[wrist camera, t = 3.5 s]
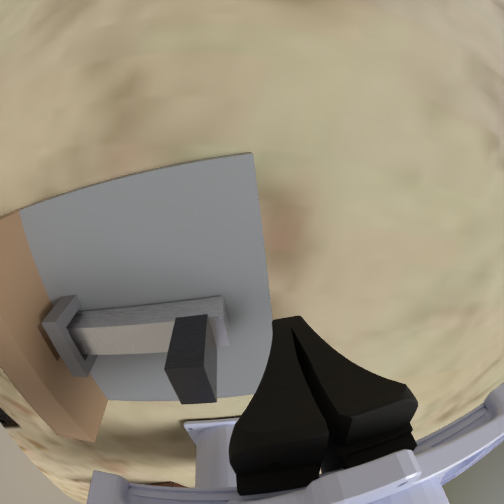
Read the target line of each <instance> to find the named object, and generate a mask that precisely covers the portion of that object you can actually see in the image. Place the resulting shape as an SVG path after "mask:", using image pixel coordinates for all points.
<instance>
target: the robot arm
mask: <svg viewBox="0 0 504 504" xmlns="http://www.w3.org/2000/svg"><path fill="white" fill-rule="evenodd" d="M272 331H273V335H272V343H271V349H270V354H269V358H268V362H267V365H266V368H265V371H264V374H263V377H262V379H261V381H260V384H259V386H258V388H257V390H256V392H255V394H254V396H253V398H252V400H251V401H250V403H249V405H248V406H247V408H246V410H245V411H244V412H243V414H242V415H241V417H239V418H229V419H218V420H202V421H186V422H184V428H185V429H186V431H187V432H188V434H189V436H190V437H191V439H192V440H193V442H194V443H195V445H196V475H195V488H182V487H165V486H154V485H144V484H137V483H130V482H128V481H127V480H126V479H125V478H123V477H121V476H119V475H116V474H111V473H105V472H101V471H96V470H95V471H93V475H92V480H91V484H90V489H89V494H88V499H87V504H449V502H448V499H447V497H446V495H445V493H444V490H443V488H442V485H443V484H445V483H447V482H448V481H450V480H451V479H453V478H454V477H456V476H457V475H459V474H460V473H462V472H463V471H464V470H466V469H468V468H469V467H470V466H472V465H473V464H475V463H476V462H477V461H479V460H480V459H481V458H482V457H484V456H485V455H486V454H488V453H489V452H490V451H491V450H493V449H494V448H495V447H496V446H498V445H499V444H500V443H501V442H502V441H503V440H504V382H503V383H502V384H501V385H499V386H498V387H497V388H495V389H494V390H493V391H491V392H490V393H489V395H488V396H487V397H486V399H485V400H484V403H482V404H481V405H479V406H478V407H476V408H475V409H473V410H472V411H470V412H469V413H467V414H465V415H464V416H462V417H460V418H459V419H457V420H455V421H454V422H452V423H450V424H448V425H447V426H445V427H443V428H441V429H439V430H437V431H435V432H433V433H431V434H429V435H427V436H425V437H423V438H421V439H419V440H417V441H415V440H414V438H413V436H412V434H411V432H412V430H413V429H412V426H411V425H410V421H411V419H412V417H413V416H414V414H415V412H416V410H417V407H418V401H417V400H416V398H415V396H414V395H413V393H412V392H411V391H410V389H409V388H408V387H407V386H406V384H402V383H399V382H396V381H392V380H389V379H386V378H384V377H381V376H379V375H376V374H374V373H372V372H370V371H368V370H366V369H364V368H362V367H360V366H358V365H356V364H355V363H353V362H351V361H350V360H348V359H347V358H345V357H344V356H342V355H341V354H340V353H338V352H337V351H336V350H335V349H333V348H332V347H331V346H330V345H328V344H327V343H326V342H325V341H324V340H323V339H322V338H321V337H320V336H319V335H318V334H317V333H316V332H315V331H314V330H313V329H312V328H311V327H310V326H309V325H308V324H307V323H306V322H305V320H304V319H303V318H302V317H301V316H294V317H288V318H282V319H276V320H273V321H272ZM320 468H321V472H322V474H319V472H320Z"/></svg>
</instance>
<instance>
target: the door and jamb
mask: <svg viewBox="0 0 504 504" xmlns="http://www.w3.org/2000/svg"><path fill="white" fill-rule="evenodd" d="M218 296H223V298H224V303H225V308H226V313H227V317H228V322H229V335H230V346H224V347H217V398H225V397H234V396H243V395H251V394H255V392H256V390H257V388H258V386H259V384H260V381H261V379H262V377H263V374H264V371H265V368H266V365H267V362H268V358H269V354H270V349H271V343H272V335H273V331H272V321H273V319H272V310H271V301H270V292H269V283H268V274H267V265H266V256H265V248H264V239H263V231H262V222H261V214H260V206H259V198H258V189H257V181H256V173H255V165H254V158H253V153H251V152H248V153H241V154H234V155H227V156H220V157H214V158H208V159H202V160H196V161H191V162H185V163H180V164H175V165H170V166H165V167H160V168H156V169H151V170H147V171H143V172H138V173H134V174H130V175H126V176H122V177H118V178H114V179H111V180H107V181H103V182H100V183H96V184H93V185H89V186H86V187H82V188H79V189H76V190H73V191H70V192H66V193H63V194H60V195H57V196H54V197H51V198H49V199H46V200H43V201H40V202H37V203H35V204H32V205H29V206H27V207H24V208H21V209H19V210H16V211H14V212H11V213H9V214H6V215H4V216H2V217H0V366H1V368H2V369H3V371H4V372H5V374H6V375H7V376H8V378H9V379H10V381H11V382H12V383H13V385H14V386H15V387H16V388H17V390H18V391H19V392H20V394H21V395H22V396H23V397H24V399H25V400H26V401H27V402H28V403H29V405H30V406H31V407H32V408H33V409H34V410H35V411H36V413H37V414H38V415H39V416H40V417H41V418H42V419H43V420H44V421H45V422H46V424H47V425H48V426H49V427H50V428H51V429H52V430H53V431H54V432H55V433H56V434H57V435H61V436H65V437H69V438H74V439H79V440H84V441H89V442H95V441H96V437H97V434H98V430H99V427H100V424H101V420H102V417H103V414H104V411H105V408H106V405H107V402H108V400H121V401H180V400H179V398H178V396H177V395H176V393H175V391H174V389H173V387H172V385H171V383H170V381H169V379H168V376H167V374H166V372H165V370H164V367H165V362H166V358H167V353H168V352H161V353H143V354H116V355H81V354H80V352H79V350H78V349H77V347H76V345H75V343H74V341H73V340H72V338H71V336H70V334H69V332H68V330H67V328H66V327H67V325H68V324H69V323H70V321H71V320H72V318H73V317H74V315H75V314H76V312H81V311H93V310H105V309H115V308H126V307H135V306H145V305H154V304H163V303H171V302H179V301H188V300H195V299H203V298H211V297H218Z"/></svg>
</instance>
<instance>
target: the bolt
mask: <svg viewBox="0 0 504 504" xmlns="http://www.w3.org/2000/svg"><path fill="white" fill-rule="evenodd" d="M66 328H67V330H68V332H69V334H70V336H71V338H72V340H73V341H74V343H75V345H76V347H77V349H78V350H79V352H80V354H81V355H116V354H143V353H161V352H168V353H167V358H166V362H165V367H164V370H165V372H166V374H167V376H168V379H169V381H170V383H171V385H172V387H173V389H174V391H175V393H176V395H177V396H178V398H179V400H180V402H181V404H199V403H213V402H217V347H224V346H230V335H229V322H228V317H227V313H226V308H225V303H224V298H223V296H218V297H211V298H203V299H195V300H188V301H179V302H171V303H163V304H154V305H145V306H135V307H126V308H115V309H105V310H93V311H81V312H76V314H75V315H74V317H73V318H72V320H71V321H70V323H69V324H68V325H67V327H66Z"/></svg>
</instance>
